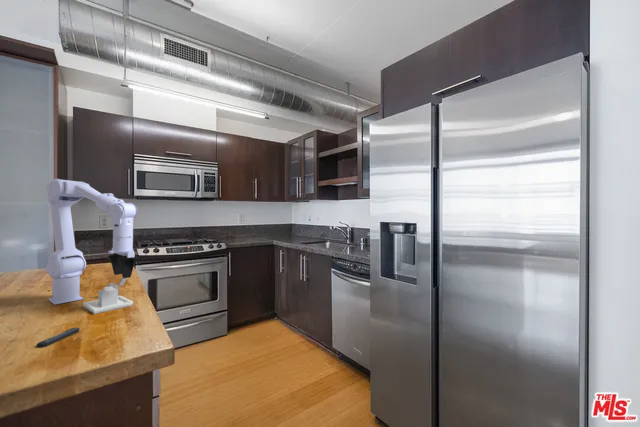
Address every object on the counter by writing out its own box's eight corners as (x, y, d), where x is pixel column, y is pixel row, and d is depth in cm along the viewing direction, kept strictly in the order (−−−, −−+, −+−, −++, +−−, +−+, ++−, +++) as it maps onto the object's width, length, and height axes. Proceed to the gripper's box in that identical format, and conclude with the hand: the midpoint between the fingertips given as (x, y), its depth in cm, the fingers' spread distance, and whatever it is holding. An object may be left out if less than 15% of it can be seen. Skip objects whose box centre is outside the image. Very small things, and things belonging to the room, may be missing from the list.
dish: (83, 306, 95) (83, 302, 95) (120, 299, 104) (120, 295, 104) (94, 314, 89) (94, 309, 89) (132, 305, 98) (132, 301, 98)
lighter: (105, 298, 105) (105, 277, 105) (104, 297, 106) (105, 276, 106) (127, 295, 110) (128, 274, 110) (127, 294, 111) (127, 274, 111)
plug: (98, 305, 96) (98, 287, 96) (113, 301, 99) (113, 285, 99) (101, 307, 94) (102, 289, 94) (117, 303, 97) (117, 286, 97)
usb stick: (71, 332, 77) (72, 326, 77) (80, 332, 77) (81, 326, 77) (34, 348, 67) (34, 342, 67) (44, 349, 67) (44, 342, 67)
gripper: (101, 236, 98) (101, 274, 98) (117, 239, 90) (116, 281, 90) (124, 235, 104) (124, 271, 104) (141, 238, 96) (140, 277, 96)
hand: (122, 276), depth 97 cm, fingers open, 7 cm apart
